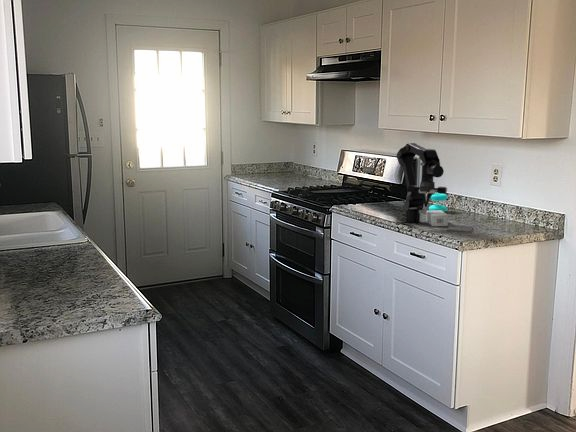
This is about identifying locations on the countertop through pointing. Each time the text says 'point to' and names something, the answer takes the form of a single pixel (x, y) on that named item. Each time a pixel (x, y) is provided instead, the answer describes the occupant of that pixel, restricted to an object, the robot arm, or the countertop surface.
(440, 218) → the skincare box
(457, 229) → the mat
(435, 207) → the donuts
